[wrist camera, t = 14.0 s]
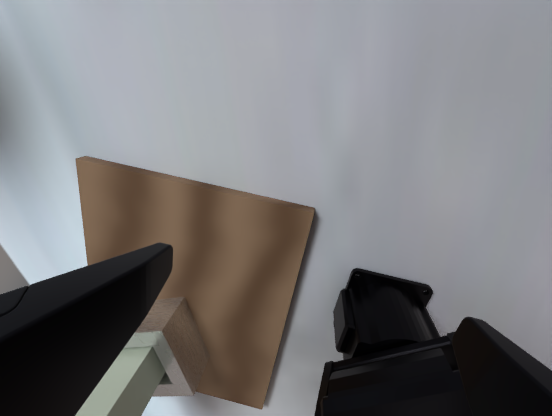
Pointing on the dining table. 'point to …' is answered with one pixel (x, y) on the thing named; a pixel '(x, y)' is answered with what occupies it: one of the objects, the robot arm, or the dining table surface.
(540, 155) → the dining table surface
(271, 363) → the walnut board
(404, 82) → the dining table surface
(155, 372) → the keyed peg
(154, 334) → the keyed slot
